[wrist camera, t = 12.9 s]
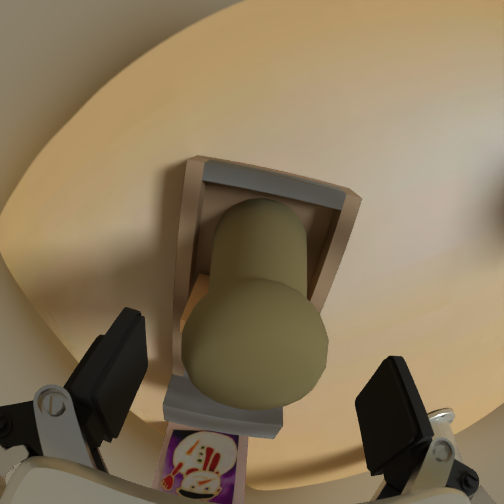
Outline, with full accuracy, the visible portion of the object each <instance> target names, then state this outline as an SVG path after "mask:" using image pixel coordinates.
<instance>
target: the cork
mask: <svg viewBox="0 0 504 504" xmlns="http://www.w3.org/2000/svg"><path fill="white" fill-rule="evenodd" d="M328 341H329V340H328V336H327V333H326V329H325V326H324V324H323V321H322V319H321V316H320V314H319V312H318V311H317V309H316V308H315V307H314V305H313V304H312V303H311V302H310V301H309V300H308V299H307V241H306V231H305V229H304V226H303V224H302V221H301V219H300V218H299V217H298V216H297V215H296V214H295V212H294V211H293V210H292V209H291V208H289V207H287V206H286V205H284V204H282V203H280V202H279V201H275V200H271V199H266V198H256V199H247V200H245V201H242V202H240V203H238V204H235V205H233V206H232V207H231V208H230V209H229V210H228V211H226V212H225V213H224V214H223V215H222V217H221V219H220V220H219V222H218V224H217V226H216V228H215V235H214V241H213V250H212V259H211V268H210V277H209V287H208V294H206V295H205V296H204V297H203V298H202V299H201V300H200V301H199V302H198V303H197V304H196V305H195V306H194V308H193V310H192V312H191V313H190V315H189V317H188V319H187V321H186V323H185V325H184V328H183V330H182V341H181V360H182V362H183V365H184V367H185V369H186V372H187V374H188V376H189V378H190V380H191V383H192V384H193V385H194V386H195V387H196V388H197V389H198V390H199V391H200V392H201V393H202V394H204V395H206V396H207V397H209V398H211V399H212V400H214V401H216V402H218V403H221V404H224V405H227V406H230V407H233V408H237V409H244V410H269V409H274V408H278V407H283V406H286V405H289V404H291V403H293V402H295V401H298V400H300V399H301V398H303V397H304V396H305V395H307V394H308V393H309V392H310V391H311V390H313V388H314V386H315V385H316V383H317V382H318V380H319V378H320V377H321V375H322V373H323V372H324V370H325V368H326V362H327V352H328Z"/></svg>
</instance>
